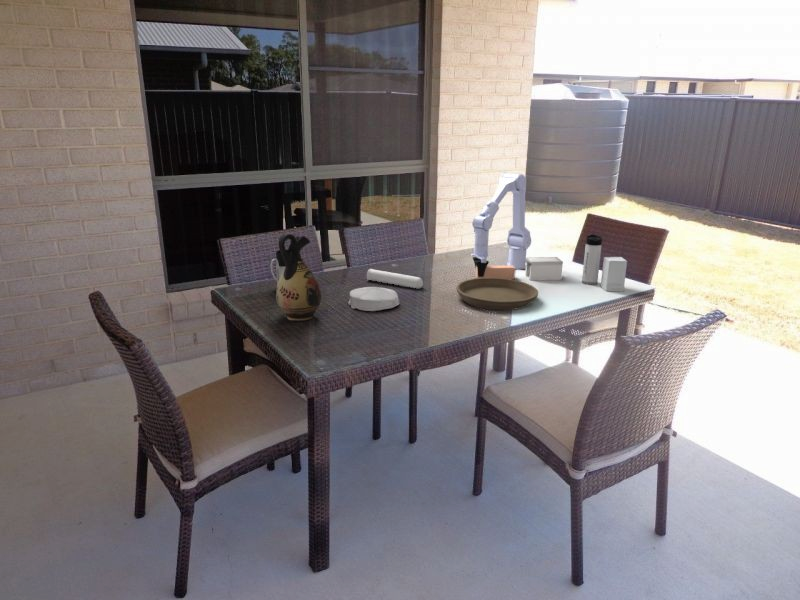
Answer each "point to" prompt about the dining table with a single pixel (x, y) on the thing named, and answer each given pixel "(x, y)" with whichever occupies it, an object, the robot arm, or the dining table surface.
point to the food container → (373, 298)
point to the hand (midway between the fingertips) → (479, 275)
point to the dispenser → (543, 268)
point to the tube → (394, 278)
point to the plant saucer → (497, 293)
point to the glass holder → (279, 265)
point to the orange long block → (498, 272)
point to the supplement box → (613, 273)
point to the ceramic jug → (297, 282)
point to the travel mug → (592, 259)
